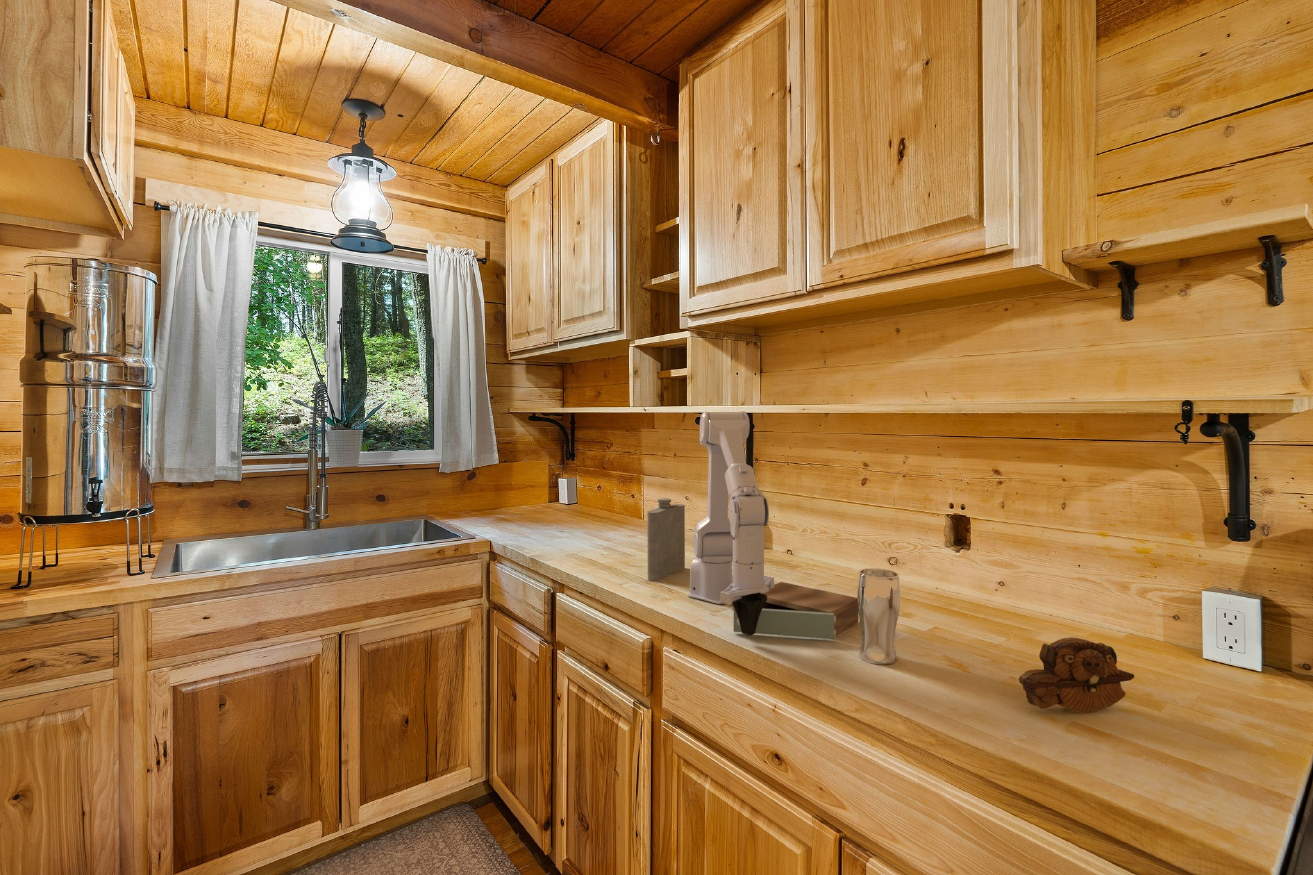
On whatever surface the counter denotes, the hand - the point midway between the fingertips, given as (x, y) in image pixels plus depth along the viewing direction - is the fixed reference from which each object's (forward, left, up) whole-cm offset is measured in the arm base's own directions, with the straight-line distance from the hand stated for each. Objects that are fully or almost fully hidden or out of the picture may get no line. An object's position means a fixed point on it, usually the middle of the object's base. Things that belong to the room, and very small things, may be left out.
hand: (748, 633), depth 115 cm
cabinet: (+1, +18, -2) cm, 19 cm away
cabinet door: (+3, +7, -1) cm, 8 cm away
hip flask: (-44, +26, -2) cm, 52 cm away
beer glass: (+21, +9, -2) cm, 23 cm away
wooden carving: (+50, +10, -2) cm, 51 cm away
